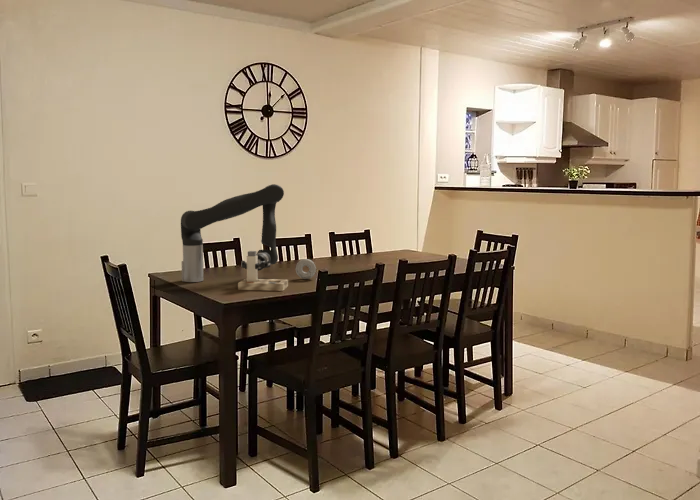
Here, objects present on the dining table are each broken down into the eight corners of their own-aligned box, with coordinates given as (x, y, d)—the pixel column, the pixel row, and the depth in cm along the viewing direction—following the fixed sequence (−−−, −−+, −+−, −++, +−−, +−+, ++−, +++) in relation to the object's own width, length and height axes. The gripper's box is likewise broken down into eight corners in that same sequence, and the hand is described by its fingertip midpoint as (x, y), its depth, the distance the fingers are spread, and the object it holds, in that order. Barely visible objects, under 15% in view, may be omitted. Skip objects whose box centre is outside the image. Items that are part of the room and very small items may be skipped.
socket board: (238, 289, 277) (238, 282, 276) (244, 285, 288) (244, 278, 288) (283, 290, 275) (283, 283, 275) (288, 286, 287) (288, 278, 286)
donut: (295, 279, 305) (295, 259, 304) (296, 278, 309) (296, 258, 308) (315, 279, 305) (315, 259, 304) (316, 278, 308) (316, 258, 307)
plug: (247, 285, 280) (246, 251, 278) (249, 283, 284) (248, 250, 282) (255, 285, 280) (255, 252, 278) (257, 283, 284) (257, 250, 282)
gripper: (244, 253, 295) (234, 258, 278) (274, 253, 294) (266, 258, 277) (244, 269, 296) (235, 274, 279) (274, 269, 295) (266, 275, 278)
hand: (250, 266), depth 278 cm, fingers closed on plug, 4 cm apart
